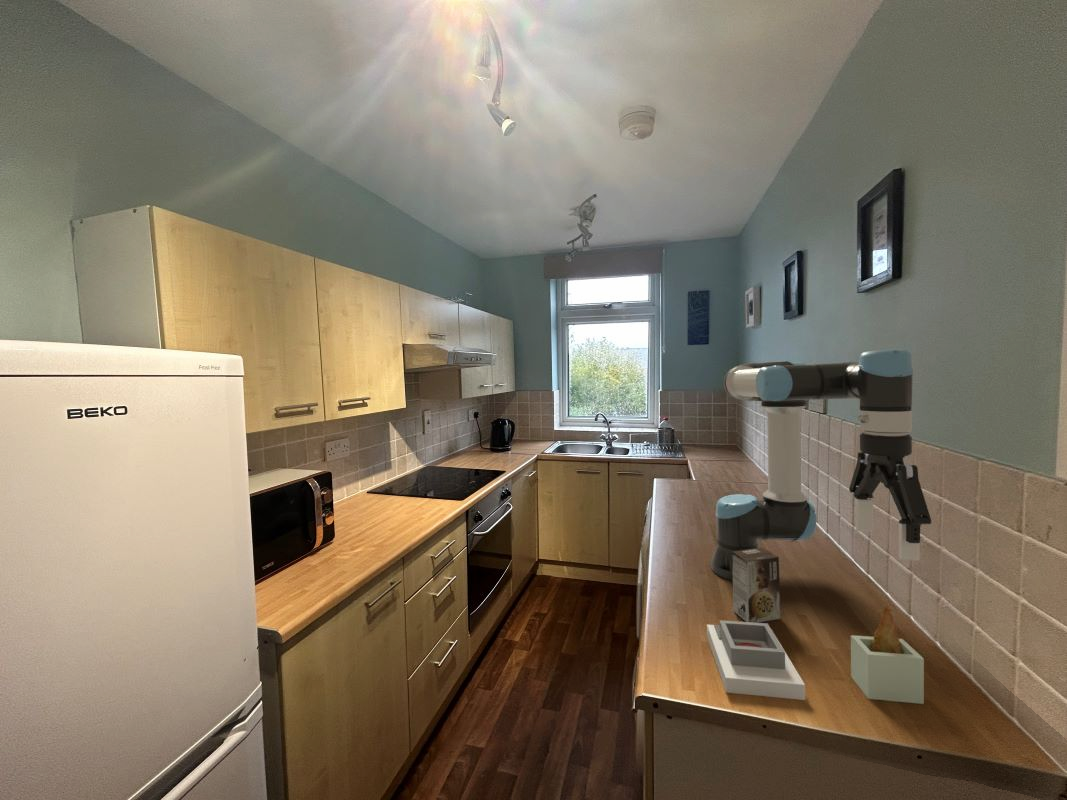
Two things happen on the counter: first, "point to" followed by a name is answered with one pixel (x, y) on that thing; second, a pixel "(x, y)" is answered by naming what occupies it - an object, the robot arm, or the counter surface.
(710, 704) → the counter surface
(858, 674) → the box
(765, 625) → the panel
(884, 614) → the stone tool
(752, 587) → the coffee box
